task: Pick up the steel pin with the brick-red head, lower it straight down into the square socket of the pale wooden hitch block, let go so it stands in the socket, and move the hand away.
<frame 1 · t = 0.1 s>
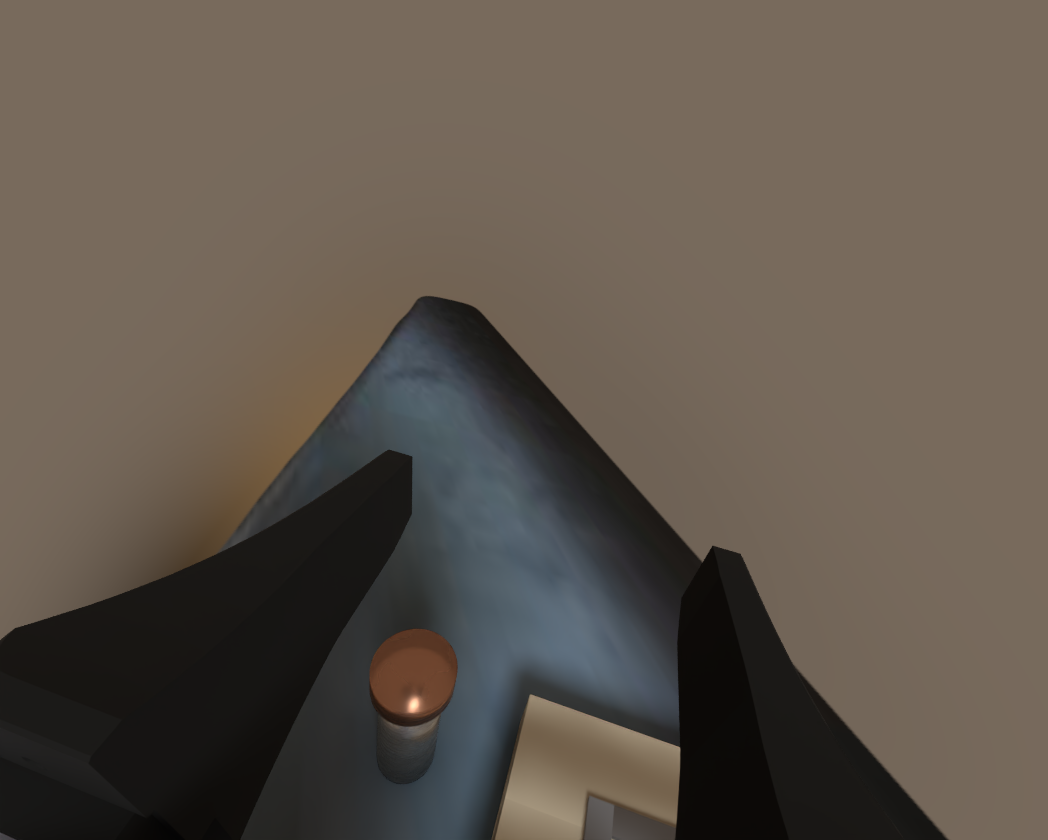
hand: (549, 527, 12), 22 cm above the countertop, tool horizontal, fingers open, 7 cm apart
pin: (406, 751, 27), on the countertop
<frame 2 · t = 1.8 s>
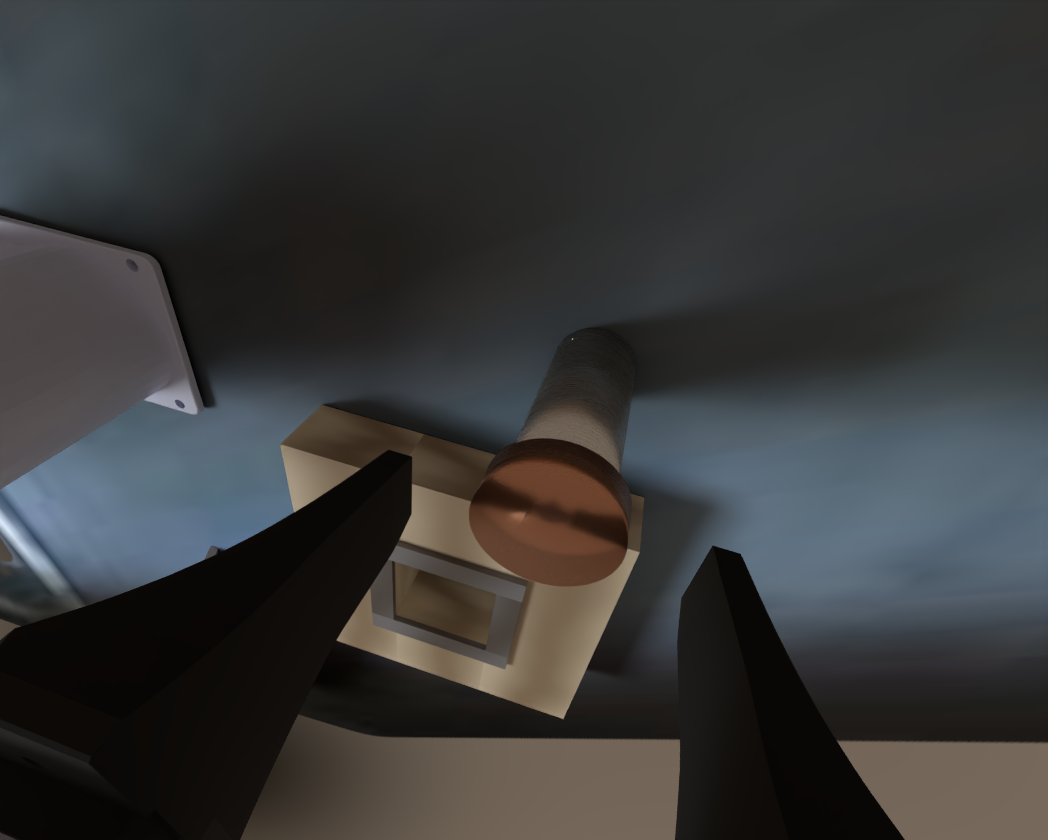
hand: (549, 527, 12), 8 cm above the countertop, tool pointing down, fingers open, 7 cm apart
hitch block: (464, 554, 26), on the countertop
pin: (594, 366, 18), on the countertop
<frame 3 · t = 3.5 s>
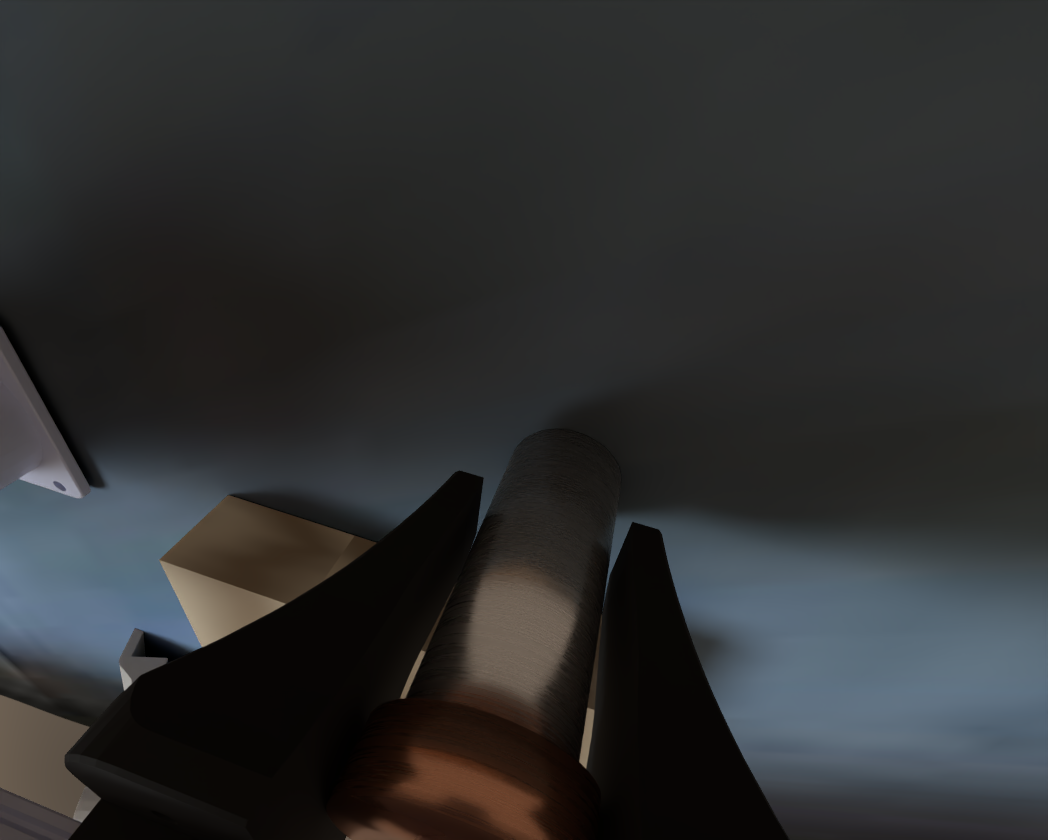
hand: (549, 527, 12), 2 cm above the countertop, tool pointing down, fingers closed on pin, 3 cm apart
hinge: (197, 697, 34), on the countertop
hitch block: (418, 662, 22), on the countertop
pin: (564, 475, 13), on the countertop, touching gripper
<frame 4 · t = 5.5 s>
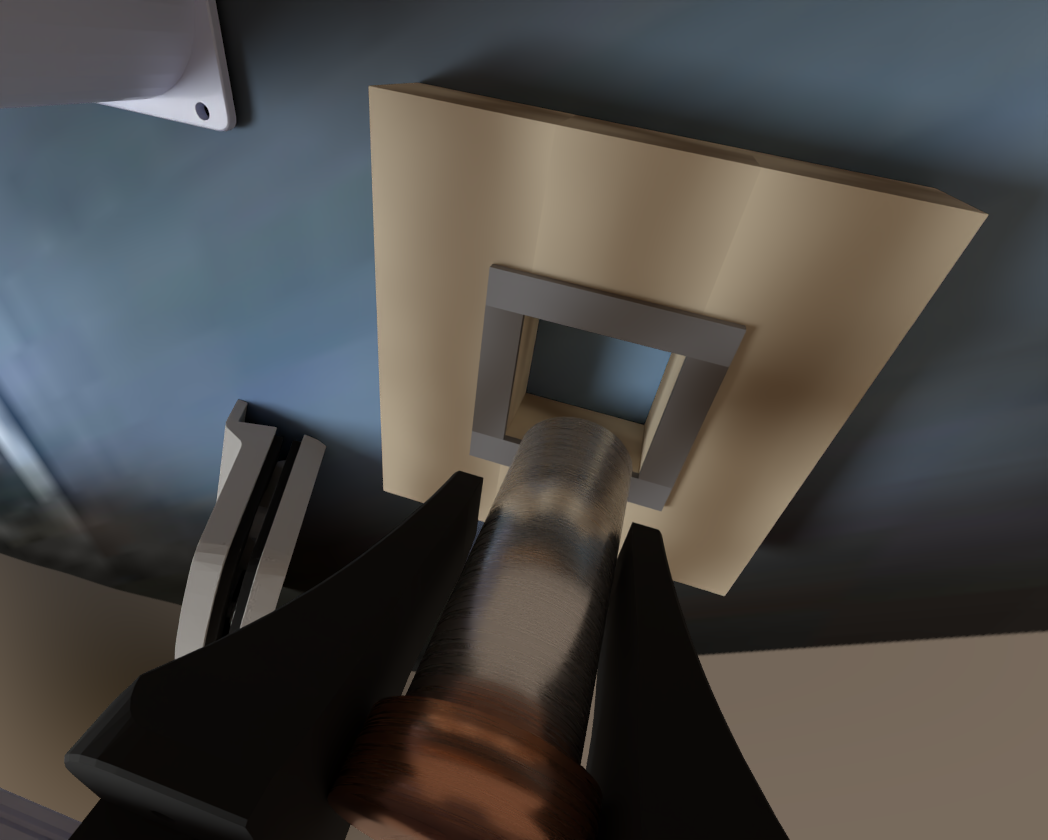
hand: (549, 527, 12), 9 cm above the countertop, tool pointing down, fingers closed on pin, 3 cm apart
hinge: (286, 514, 31), on the countertop
hitch block: (598, 356, 19), on the countertop
pin: (574, 462, 13), point 7 cm above the countertop, touching gripper
when the fingers open (4 cm above the countertop, at t = 7.6 s): pin drops 2 cm, resting in hitch block.
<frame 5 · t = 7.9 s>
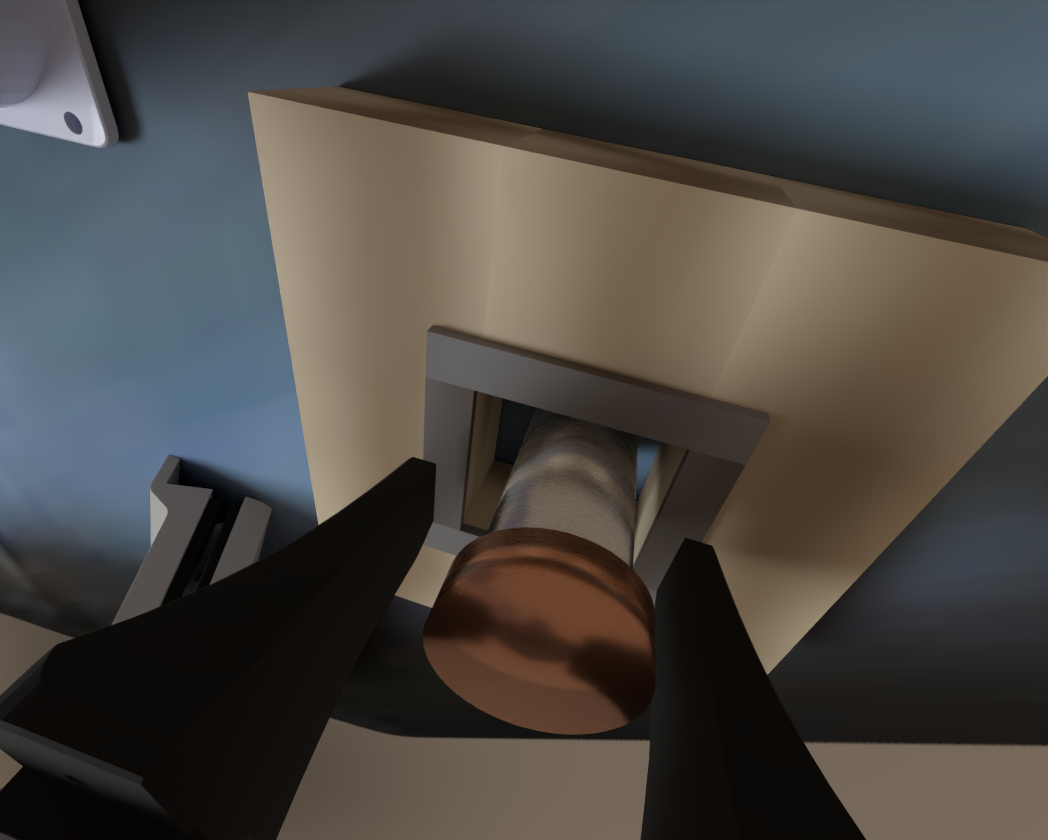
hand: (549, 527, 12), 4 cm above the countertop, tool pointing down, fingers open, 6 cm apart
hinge: (236, 572, 27), on the countertop
hitch block: (579, 422, 15), on the countertop
pin: (587, 414, 15), resting in hitch block
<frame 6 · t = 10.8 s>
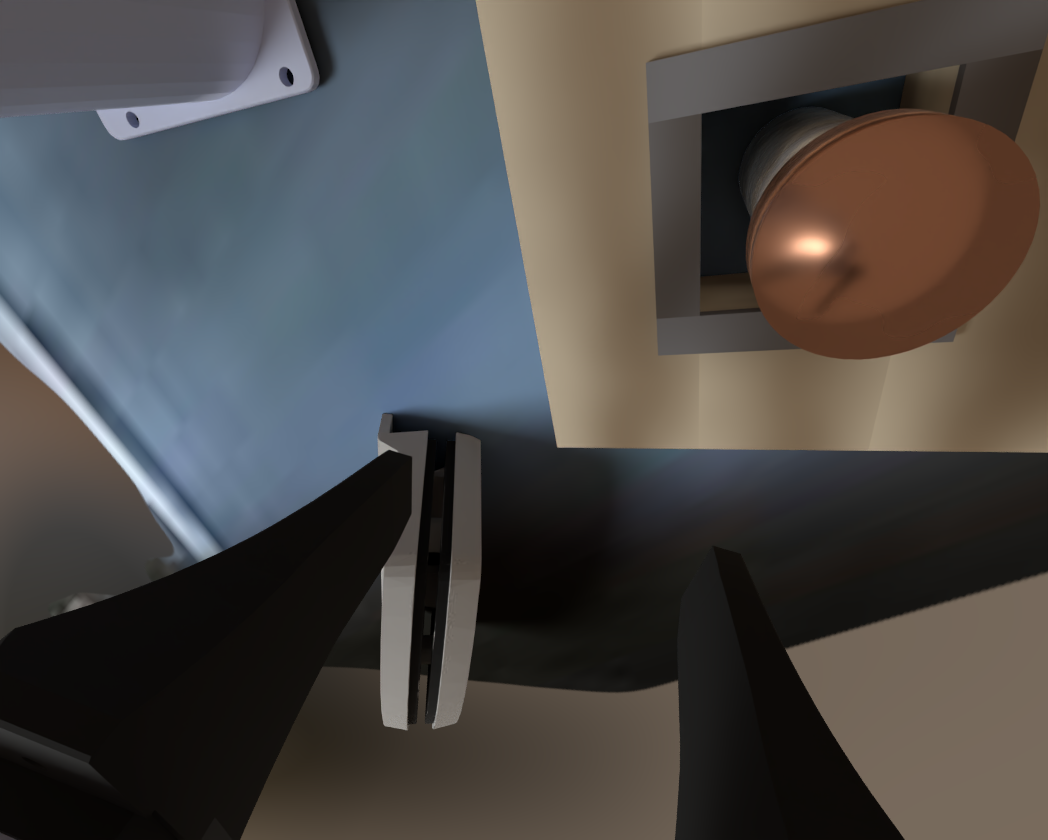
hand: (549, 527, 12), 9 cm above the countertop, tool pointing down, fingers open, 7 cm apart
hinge: (449, 535, 29), on the countertop
hitch block: (787, 185, 15), on the countertop
pin: (794, 167, 14), resting in hitch block
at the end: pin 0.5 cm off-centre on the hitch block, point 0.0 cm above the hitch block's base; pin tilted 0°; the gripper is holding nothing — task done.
